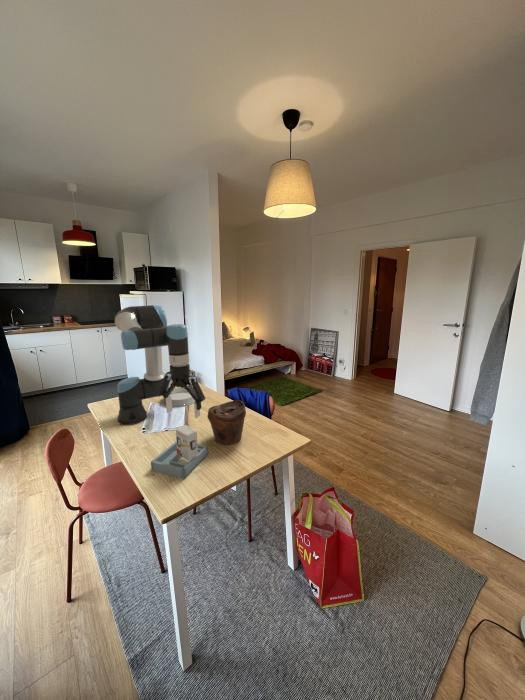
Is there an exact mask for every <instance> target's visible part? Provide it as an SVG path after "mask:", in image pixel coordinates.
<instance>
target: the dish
mask: <svg viewBox="0 0 525 700" xmlns="http://www.w3.org/2000/svg"><path fill="white" fill-rule="evenodd" d="M169 396H171V400H172V408H182V407H188V406H191V405H194V402H195V400H194V399H193V398H192V396H191V395H190V394H189V392H188V391H187V390H186V389H185V388H181V387H177V388H176V387H175V388H174V389H173V391H172V392H171V394H170V395H169ZM163 404H164V405H165V406H166V404H165V401H164V400H163ZM184 404H185V405H184Z"/></svg>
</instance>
